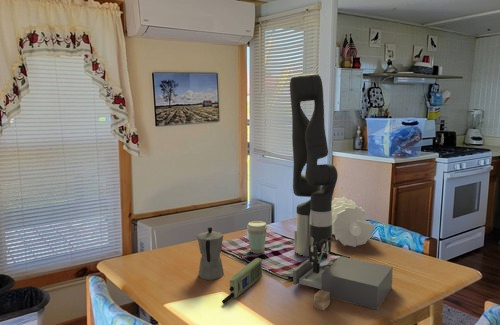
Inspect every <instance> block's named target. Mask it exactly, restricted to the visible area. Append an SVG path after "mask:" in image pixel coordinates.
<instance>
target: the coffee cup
mask: <svg viewBox="0 0 500 325" xmlns="http://www.w3.org/2000/svg"><path fill="white" fill-rule="evenodd" d="M246 229H247V233H248V241H249V250H250V253H252V252H253V254H263V253H264V252H265V250H266V249H265V248H266V238H267V230H268V225H267V223H266V222H265V221H262V220H261V221H260V220H256V221H255V220H253V221H249V222H248V224H247V225H246Z"/></svg>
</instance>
